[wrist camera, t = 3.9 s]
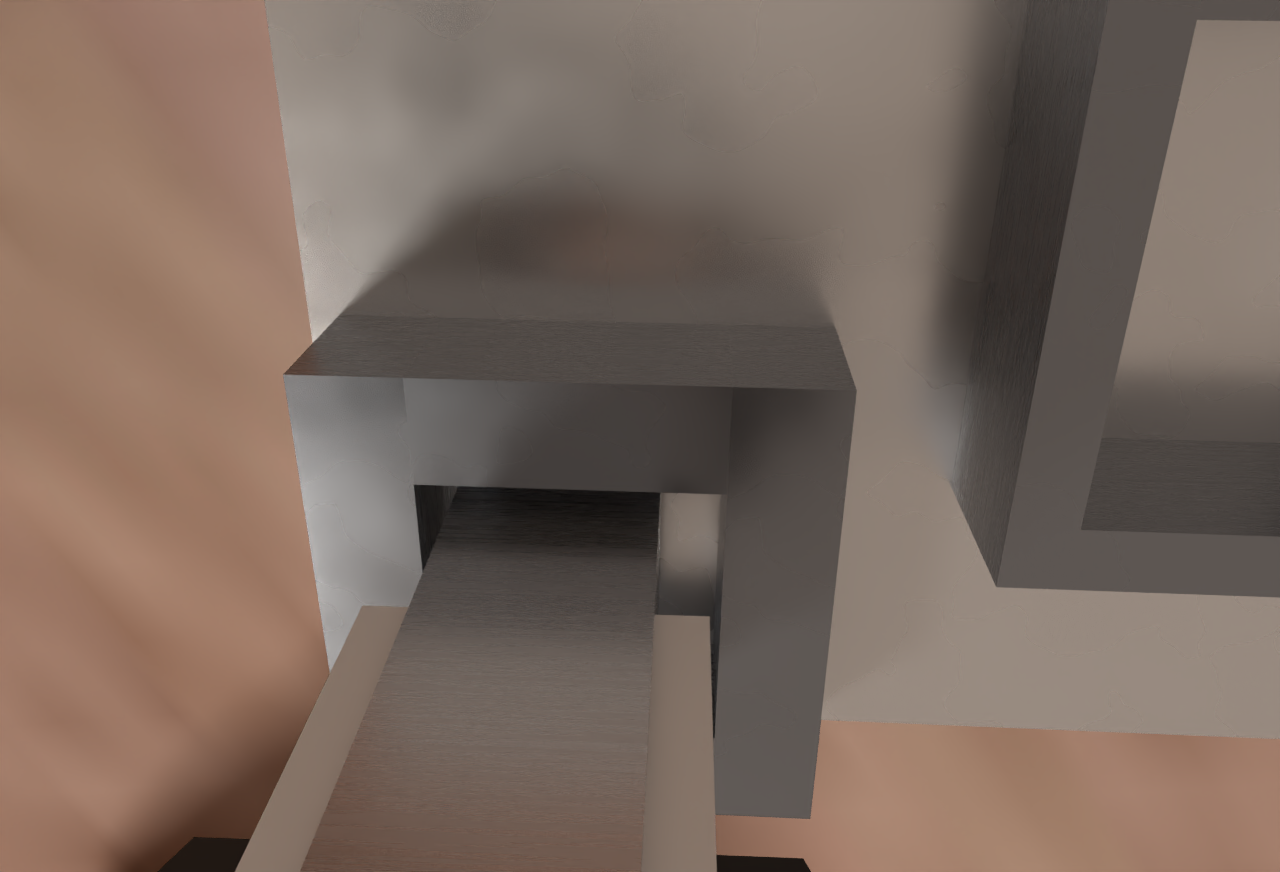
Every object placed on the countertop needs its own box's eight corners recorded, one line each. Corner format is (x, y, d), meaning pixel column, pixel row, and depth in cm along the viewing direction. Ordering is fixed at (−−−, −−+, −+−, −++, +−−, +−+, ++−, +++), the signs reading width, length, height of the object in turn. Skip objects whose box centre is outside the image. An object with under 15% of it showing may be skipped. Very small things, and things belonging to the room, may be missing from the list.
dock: (384, 653, 22) (311, 818, 18) (288, -100, 15) (144, -110, 11) (1366, 691, 21) (1527, 875, 17) (1680, -89, 15) (2055, -96, 11)
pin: (452, 647, 19) (140, 1600, 8) (433, 439, 17) (-5, 1320, 6) (685, 655, 18) (681, 1633, 8) (692, 445, 17) (698, 1359, 6)
